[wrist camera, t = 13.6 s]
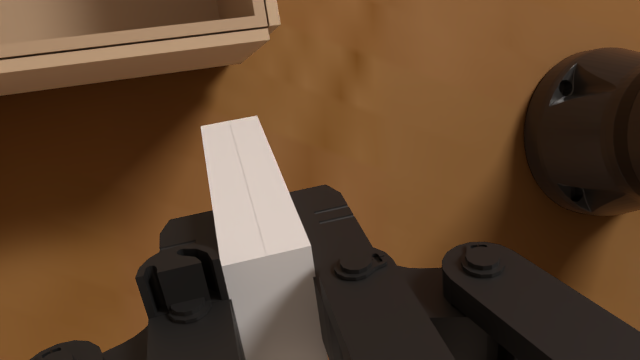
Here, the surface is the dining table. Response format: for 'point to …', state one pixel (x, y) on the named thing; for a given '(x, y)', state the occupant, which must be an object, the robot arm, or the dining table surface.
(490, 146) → the dining table surface
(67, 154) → the dining table surface
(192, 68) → the carton
